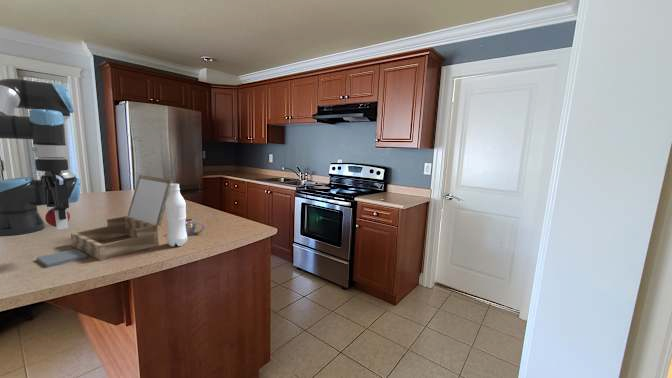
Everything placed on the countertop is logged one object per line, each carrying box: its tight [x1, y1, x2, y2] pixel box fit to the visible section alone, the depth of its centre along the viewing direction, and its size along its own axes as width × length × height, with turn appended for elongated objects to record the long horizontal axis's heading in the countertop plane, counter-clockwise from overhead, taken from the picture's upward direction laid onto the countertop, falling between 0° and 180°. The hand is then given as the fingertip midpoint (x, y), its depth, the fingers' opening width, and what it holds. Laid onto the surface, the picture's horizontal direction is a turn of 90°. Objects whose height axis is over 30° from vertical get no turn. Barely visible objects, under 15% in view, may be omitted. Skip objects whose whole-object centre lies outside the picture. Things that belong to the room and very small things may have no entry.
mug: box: [185, 218, 206, 236], centre depth 126 cm, size 12×7×7 cm, turn 87°
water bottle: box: [165, 183, 188, 247], centre depth 111 cm, size 7×7×25 cm
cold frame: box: [70, 215, 159, 261], centre depth 109 cm, size 25×19×8 cm
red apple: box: [44, 207, 71, 228], centre depth 93 cm, size 6×6×8 cm
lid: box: [127, 174, 174, 227], centre depth 118 cm, size 25×19×1 cm
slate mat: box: [36, 248, 88, 268], centre depth 95 cm, size 10×10×1 cm
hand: (59, 226), depth 93 cm, fingers closed on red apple, 6 cm apart
